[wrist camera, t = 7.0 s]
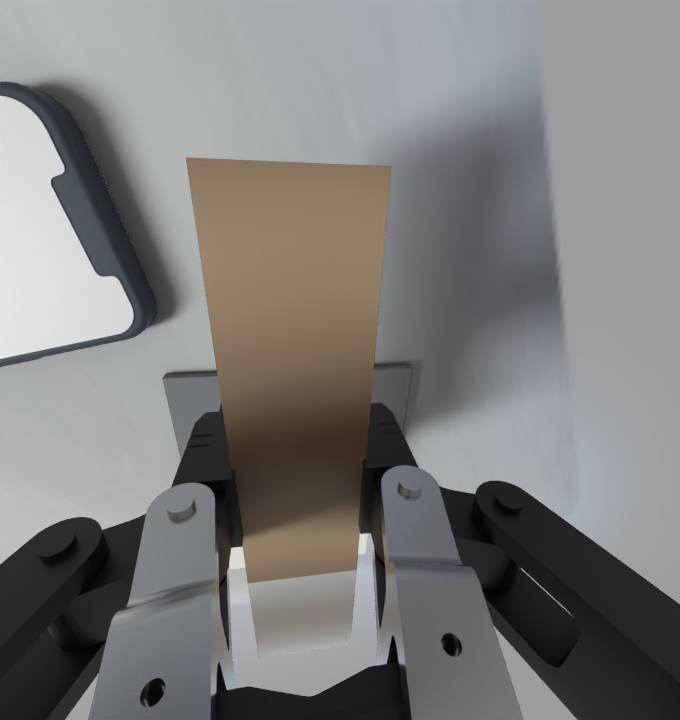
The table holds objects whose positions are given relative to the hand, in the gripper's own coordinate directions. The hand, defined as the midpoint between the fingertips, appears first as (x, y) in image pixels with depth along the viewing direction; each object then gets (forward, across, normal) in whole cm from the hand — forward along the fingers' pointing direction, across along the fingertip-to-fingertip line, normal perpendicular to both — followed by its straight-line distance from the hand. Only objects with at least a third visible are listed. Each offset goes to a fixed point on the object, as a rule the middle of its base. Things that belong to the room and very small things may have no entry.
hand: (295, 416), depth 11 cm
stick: (+1, 0, 0) cm, 1 cm away
